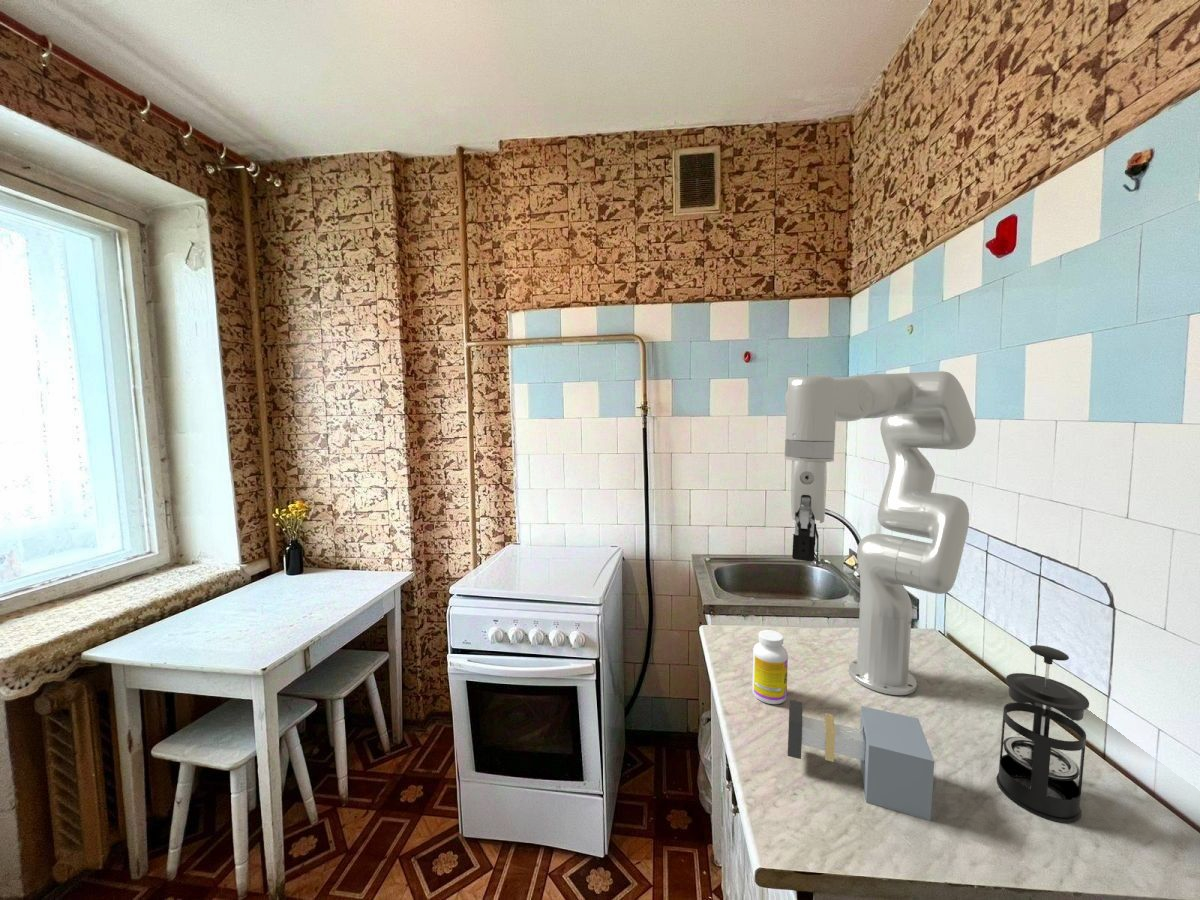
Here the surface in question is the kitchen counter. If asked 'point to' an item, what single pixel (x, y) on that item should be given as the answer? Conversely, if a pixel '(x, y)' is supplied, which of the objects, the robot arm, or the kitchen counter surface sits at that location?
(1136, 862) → the kitchen counter surface
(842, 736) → the shaft
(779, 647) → the supplement bottle
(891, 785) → the housing
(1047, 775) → the french press
